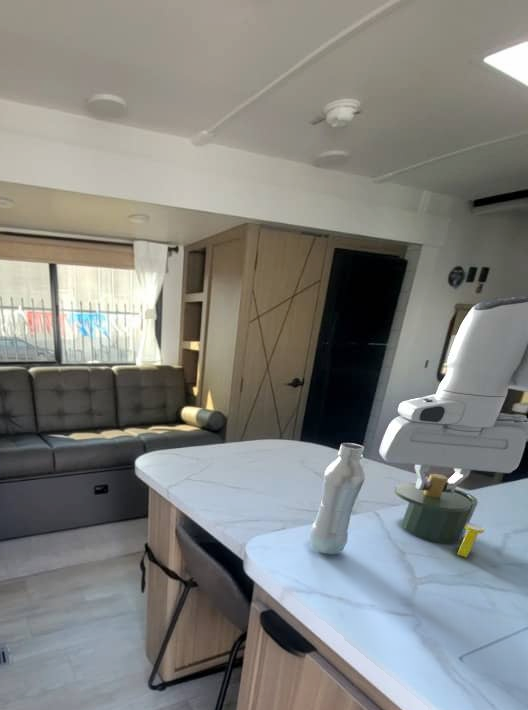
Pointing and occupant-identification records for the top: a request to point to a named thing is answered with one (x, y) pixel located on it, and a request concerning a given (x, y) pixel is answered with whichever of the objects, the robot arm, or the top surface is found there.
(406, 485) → the tin lid
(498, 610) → the top surface
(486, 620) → the top surface
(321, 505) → the plastic bottle
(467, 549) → the watch
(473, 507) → the tin
